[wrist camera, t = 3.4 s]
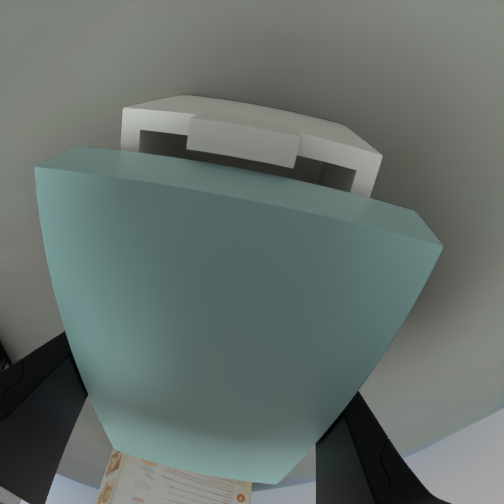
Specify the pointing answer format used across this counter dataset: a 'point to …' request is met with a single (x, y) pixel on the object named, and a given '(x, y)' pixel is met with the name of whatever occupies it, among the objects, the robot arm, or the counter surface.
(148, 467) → the coffeecake box
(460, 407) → the counter surface
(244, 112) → the tub
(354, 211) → the lid
